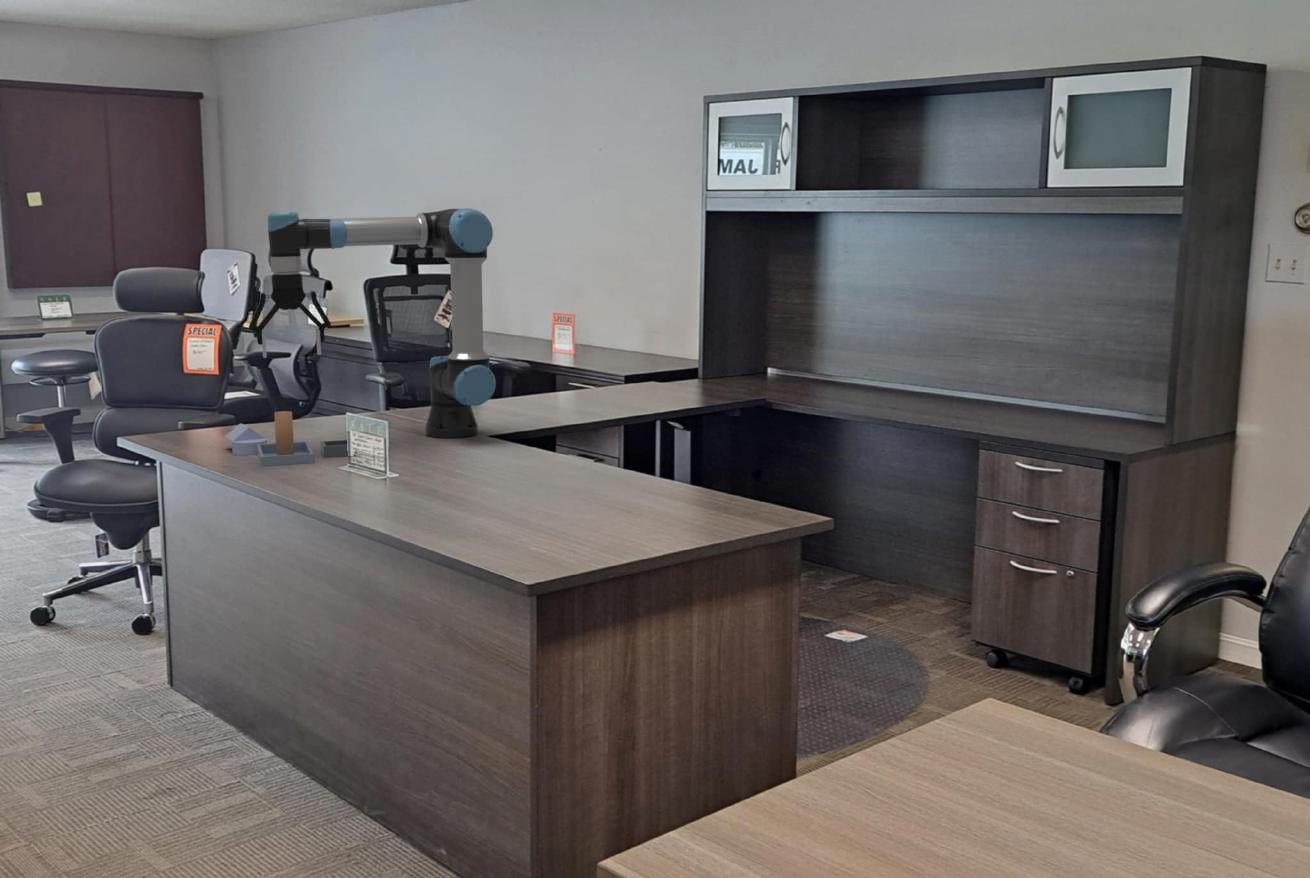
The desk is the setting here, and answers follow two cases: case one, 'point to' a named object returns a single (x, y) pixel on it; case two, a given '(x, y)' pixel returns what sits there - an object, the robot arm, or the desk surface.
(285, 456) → the tray
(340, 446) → the grey square open box
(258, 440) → the wedge on round base
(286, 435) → the dowel
